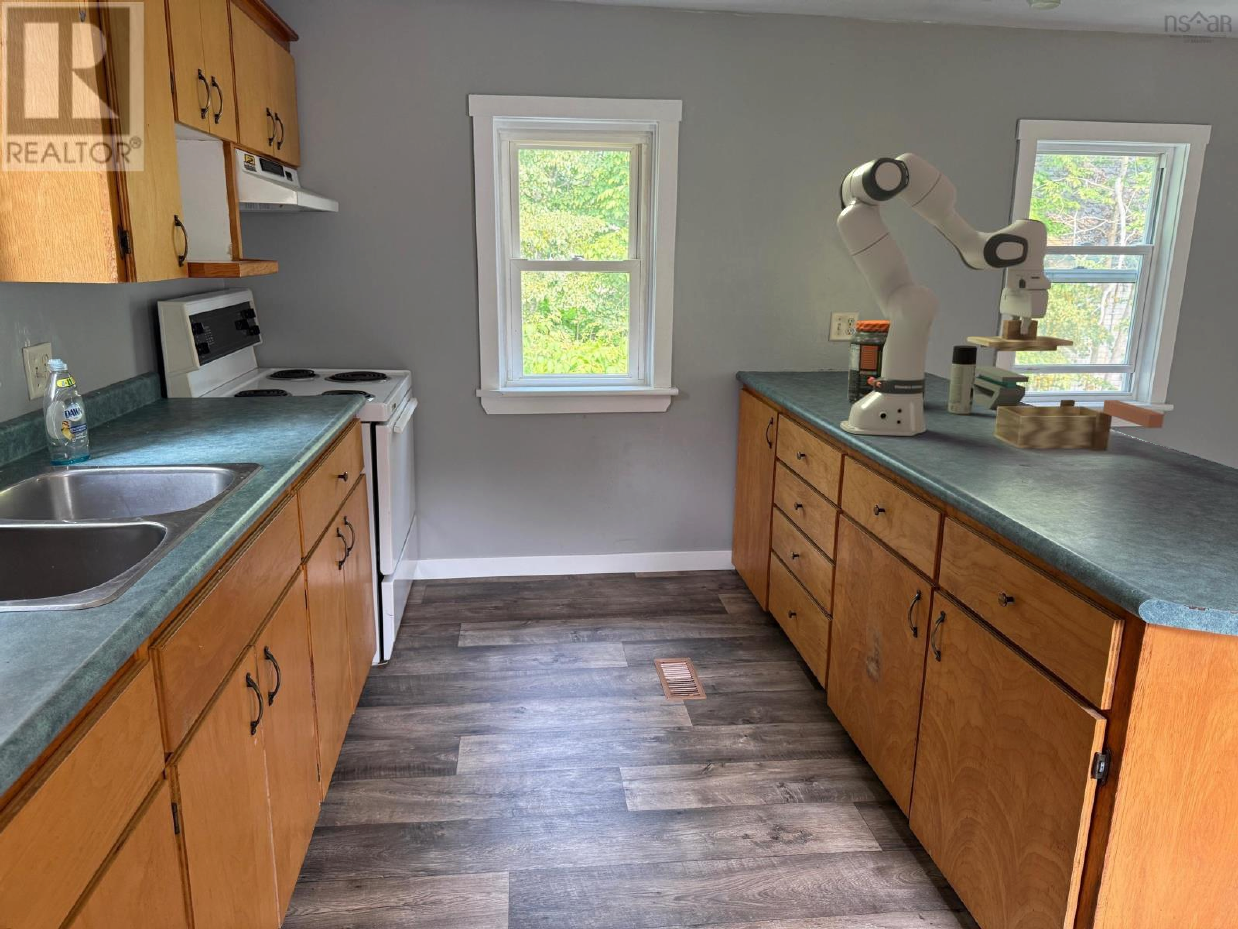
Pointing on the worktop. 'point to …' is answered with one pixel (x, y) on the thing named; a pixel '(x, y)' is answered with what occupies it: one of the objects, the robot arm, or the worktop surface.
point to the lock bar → (1133, 414)
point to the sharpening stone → (998, 387)
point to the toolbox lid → (1020, 339)
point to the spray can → (962, 379)
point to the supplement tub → (866, 357)
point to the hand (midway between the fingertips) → (1019, 333)
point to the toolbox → (1053, 427)
